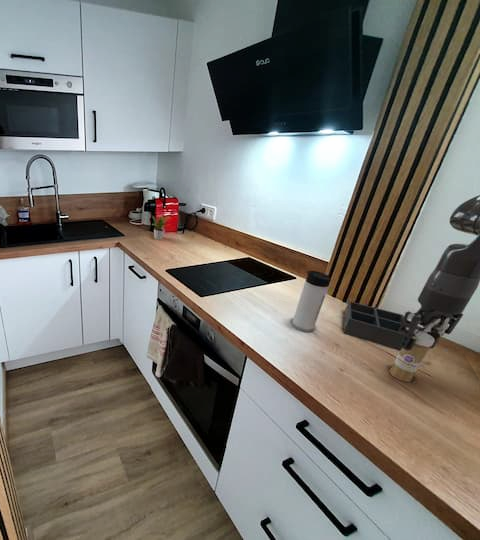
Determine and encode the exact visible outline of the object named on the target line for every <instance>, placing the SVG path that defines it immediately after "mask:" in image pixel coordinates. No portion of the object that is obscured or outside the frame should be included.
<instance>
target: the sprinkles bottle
mask: <svg viewBox="0 0 480 540" xmlns="http://www.w3.org/2000/svg"><path fill="white" fill-rule="evenodd" d="M417 331H418V330H417V329H416V330H415V332H414V333H416V332H417ZM434 341H435V339H434V338H433V337H432V336H430V335H429V334H427V332H426V333H422V334H421V335H420V336H419V337H418V338H417V340H416V342H415V343H414V345H413V347H412V349H411V350H408V351H407V350H405V349H403V348H402V349H401V351H400V350H399V353H398V355H397V356H396V358H395V360H394V362H393V364H392V366H391V368H390V369H389V370H388V371H389V374H390V375H391V376H392V377H394V378H395V379H396V380H399V381H401V382H406V383H407V382H411V381H413V377H414V375H415V374H416V372H417V371H418V369H419V368H420V366H421V364H422V363H423V361H424V359H425V358H426V355H427V353H428V351H429V350H430V349H431V348H430V347H431V346H432V345H433V343H434Z"/></svg>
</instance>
